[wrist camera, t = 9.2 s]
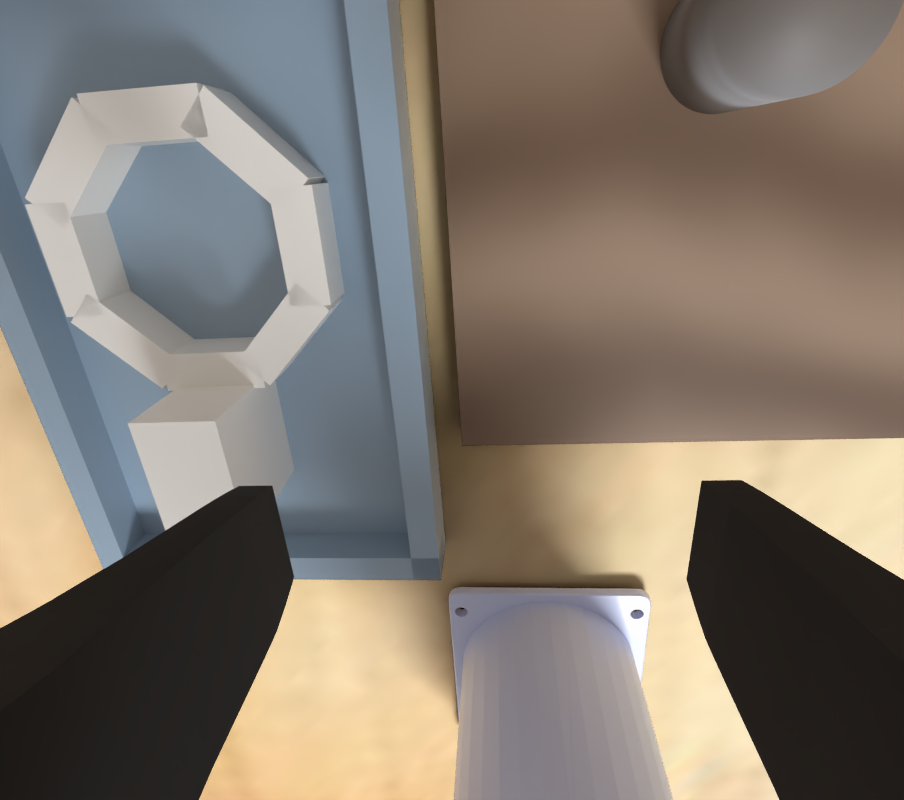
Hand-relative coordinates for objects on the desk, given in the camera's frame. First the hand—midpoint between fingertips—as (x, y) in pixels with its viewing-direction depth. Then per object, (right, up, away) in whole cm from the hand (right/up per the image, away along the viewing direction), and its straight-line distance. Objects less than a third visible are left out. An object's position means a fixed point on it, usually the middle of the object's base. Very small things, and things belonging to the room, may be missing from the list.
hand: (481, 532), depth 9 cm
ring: (-8, +5, +8) cm, 12 cm away
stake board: (+6, +9, +6) cm, 12 cm away
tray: (-8, +5, +9) cm, 13 cm away
